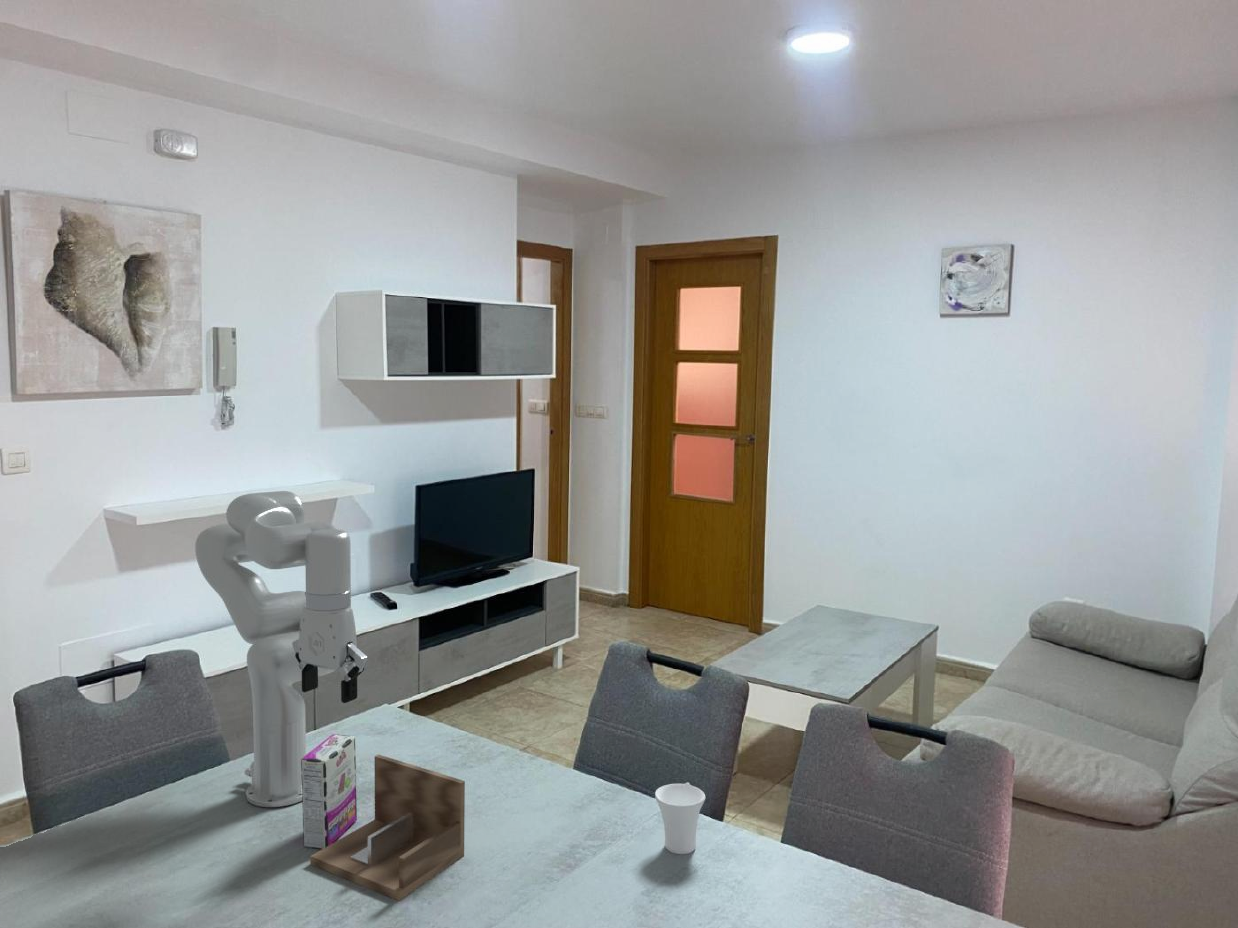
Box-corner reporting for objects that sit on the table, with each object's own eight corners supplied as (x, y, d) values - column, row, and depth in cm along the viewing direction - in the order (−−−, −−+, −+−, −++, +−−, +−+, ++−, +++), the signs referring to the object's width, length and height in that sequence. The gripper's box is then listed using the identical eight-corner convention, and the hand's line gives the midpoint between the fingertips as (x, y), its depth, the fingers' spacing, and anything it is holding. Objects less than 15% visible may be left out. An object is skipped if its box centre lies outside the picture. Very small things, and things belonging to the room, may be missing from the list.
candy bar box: (332, 817, 173) (332, 732, 171) (357, 820, 172) (357, 735, 170) (300, 847, 162) (299, 757, 160) (327, 851, 161) (326, 760, 159)
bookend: (350, 858, 156) (350, 830, 155) (392, 833, 164) (392, 806, 164) (371, 866, 153) (371, 837, 153) (412, 840, 162) (412, 813, 161)
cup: (710, 839, 168) (712, 787, 167) (692, 864, 159) (694, 808, 158) (665, 828, 171) (667, 776, 170) (645, 851, 163) (647, 797, 162)
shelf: (310, 864, 156) (309, 787, 155) (378, 824, 170) (378, 754, 169) (399, 900, 146) (399, 819, 145) (464, 855, 160) (464, 780, 159)
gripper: (277, 597, 163) (278, 691, 165) (348, 612, 154) (349, 711, 156) (310, 589, 169) (311, 680, 171) (380, 603, 161) (380, 698, 163)
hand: (329, 695), depth 164 cm, fingers open, 9 cm apart
